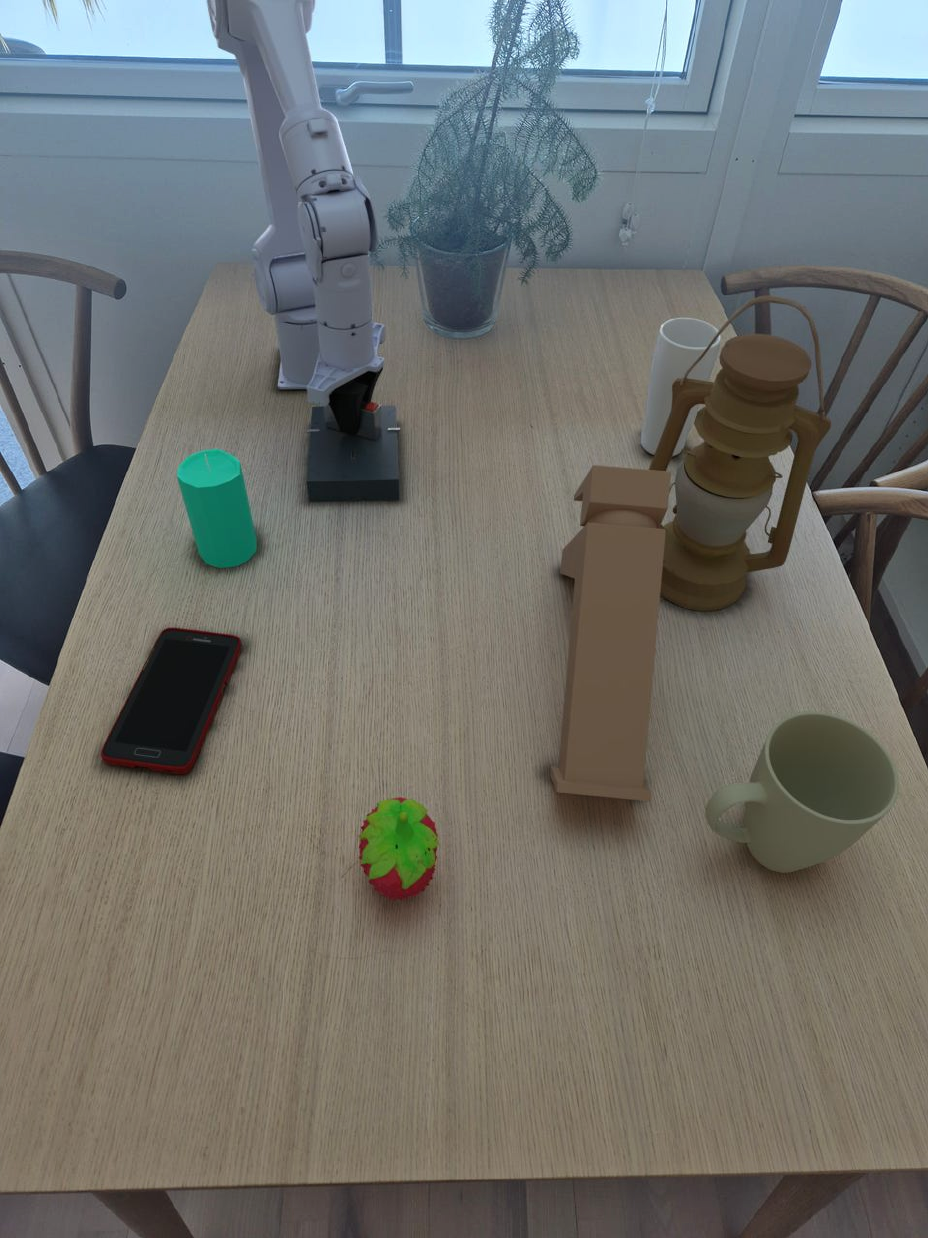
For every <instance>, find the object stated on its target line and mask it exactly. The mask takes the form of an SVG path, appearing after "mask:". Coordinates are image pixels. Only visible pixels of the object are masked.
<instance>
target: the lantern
mask: <svg viewBox="0 0 928 1238" xmlns="http://www.w3.org/2000/svg"><path fill="white" fill-rule="evenodd" d="M760 303H770V304H777V305H786V306H790V307H792V308H795V309H797V310H798V311H800V313H801V314H802V315H803V317H805V319H806V320H807V321H808V325H809V328H810V332H811V335H812V340H813V344H814V359H815V366H816V367H815V368H816V376H817V385H818V398H819V399H818V400H819V406H820V411H821V413H818V412H815V411H812V410H809V409H807V408H804V407H801V406H799V405H796V404H797V401H798V397H799V394H800V389H799V385H800V384H802V383H803V382H805V380H806V379H807V378H808V376H809V374H810V370H811V368H812V359H811V357H810V355H809V354H808V353H807V351H806V350H805V349H803V348H802V347H801V346H799V345H798V344H796V343H794V342H793V341H790V340H789V339H786V338H783V337H779V336H776V335H773V334H772V335H771V334H766V333H765V334H764V333H746V334H740V335H736V336H733V337H731V338H730V339H728V340H726V341H725V343H724V345H723V346H722V347H721V349H720V354H719V356H718V357H719V364H720V366H721V369H720V370H719V371H718V373H717V374H716V375H715V379H714V382H713V381H709V382H708V381H701V380H695V379H688V378H687V376H688V374H689V373H690V371H691V370H692V369H693V368H694V367H695V365H696V364H697V363H698V362H699V361H700V360H701V359H702V358H703V356H704V355H705V354H706V352H707V351H708V350H709V348H710V347H711V346H712V344H713V343H714V342H715V340H716V339H717V338H718V336H719V335H720V334H722V333H723V332H724V331H725V330H726V329H727V327H728V326H729V325H730V324H731V323H732V322H733V321H734V320H735V319H736V318H737V317H739V316H740V315H741V314H742V313H744V312H745V311H747V310H748V309H749V308H751V307H753V306H755V305H759V304H760ZM816 328H817V327H816V325H815V321H814V318H813V316H812V315H811V313H810V312H809V310H808V309H807V306H805V305H803V304H802V303H800V302H798V301H796V300H793V299H788V298H784V297H779V296H773V295H759V296H757V297H755V298H753V299H750V300H748V301H747V302H746V303H744V305H742V306H741V307H740V308H738V309H737V310H736V311H735V312H734V313H732V314H731V316H730V317H729V318H728V319H727V321H726V322H724V324H723V325H722V326H721V327H720V329H719V330H718V331H719V332H718V333H717V334H716V336H715V337H714V339H713V340H712V341H711V343H710V344H709V345H708V347H707V348H706V349H705V351H704V352H703V354H702V355H701V356H700V357H699V358H698V359H697V360H696V361H695V362H694V364H693V365H692V366H691V367H690V368H689V369H688V370H687V372H686V373H685V376H684V377H682V378H679V379H676V380H675V381H674V383H673V385H672V407H671V412H670V415H669V417H668V420H667V423H666V425H665V428H664V431H663V433H662V436H661V439H660V441H659V444H658V447H657V449H656V452H655V454H654V455H653V457H652V460H651V462H650V465H649V468H648V470H656V471H667V470H668V467H669V465H670V462H671V460H672V458H673V456H672V455H673V452H674V450H675V447H676V445H677V442H678V440H679V437H680V435H681V432H682V430H683V427H684V425H685V422H686V420H687V417H688V415H689V412H690V410H691V408H692V407H694V406H695V405H698V404H700V405H704V406H703V407H702V408H700V409H698V410H697V413H696V415H695V418H694V420H693V425H694V427H695V430H696V431H697V434H698V436H699V437H700V438H701V439H702V440H703V441H702V442H701V443H700V444H698V445H696V446H693V447H692V448H689V447H684V448H682V449H681V450H682V451H681V452H683V453H684V454H686V456H684V458H683V459H682V460H681V462H680V464H679V466H678V468H677V470H676V473H675V478H674V481H673V482H672V483H670V489H669V494H670V493H671V490H672V487H674V491H675V505H674V506H673V507H672V513H673V514H674V517H673V520H672V521H670V522H667V523H666V524H664V525H663V524H661V525H660V527H659V528H658V529H666V534H665V545H664V557H663V568H662V579H661V590H660V598H663V599H665V600H667V601H669V602H671V603H673V604H675V605H676V606H678V607H680V608H684V609H687V610H693V611H699V612H703V611H705V612H706V611H707V612H708V611H709V612H710V611H711V612H712V611H717V610H722V609H724V608H727V607H729V606H731V605H733V604H734V603H735V602H737V601H738V600H739V599H740V598H741V596H742V595H743V593H744V591H745V588H746V586H747V581H748V573H753V572H759V571H764V570H770V569H775V568H779V567H782V566H783V565H784V564H785V563H786V561H787V558H788V555H789V552H790V548H791V545H792V540H793V537H794V533H795V528H796V525H797V521H798V518H799V514H800V509H801V506H802V501H803V498H804V495H805V490H806V486H807V483H808V479H809V475H810V471H811V467H812V464H813V460H814V457H815V453H816V450H817V449H818V447H819V445H820V443H821V442H822V441H823V439H824V438H825V437H826V435H827V434H828V433H829V432H830V430H831V427H832V420H831V419H830V418H828V417H827V416H826V411H825V407H824V406H825V405H824V379H823V367H822V365H823V364H822V356H821V348H820V340H819V335H818V331H817V329H816ZM793 432H794V433H795V434H796V437H797V444H796V448H795V452H794V455H793V460H792V464H791V467H790V471H789V476H788V479H787V483H786V488H785V492H784V495H783V500H782V504H781V508H780V511H779V515H778V519H777V524H776V527H775V526H771V527H770V530H769V532H768V530H767V529H768V528H767V526H768V524H769V522H770V518H771V517H772V516H771V515H772V511H771V508H770V507H769V506H768V505H769V502H770V500H771V498H772V495H773V489H774V484H775V483H776V481H777V479H782V478H783V477H784V476H783V474H781V473H780V472H777V471H776V469H775V467H774V465H773V463H772V462H771V460H770V457H771V456H774V455H777V454H778V453H782V452H783V451H785V450H787V449H788V448H789V446H790V445H791V444H792V443H793ZM765 509H767V510H768V516H767V519H766V522H765V524H764V530H763V531H764V534H766V535H767V537H768V539H767V543H768V544H771V547H770V549H769V550H768V551H765V552H759V553H751V550H750V548H749V547H748V545H747V543H746V542H745V541H746V539H747V535H748V534H747V530H748V529H749V528H750V527H751V526H752V524H753V523H754V522H755V521H756V520H757V519H758V518H759V516H760V515H761V514H762V513H763V511H764V510H765Z"/></svg>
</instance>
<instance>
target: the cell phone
mask: <svg viewBox="0 0 928 1238" xmlns="http://www.w3.org/2000/svg"><path fill="white" fill-rule="evenodd" d="M242 646H243V644H242V640H241V638H240V637H239V636H237V635H233V634H229V633H220V632H213V631H206V630H205V631H204V630H198V629H191V628H190V629H189V628H182V627H166V628H164V629H163V630H162V631H161V632H160V634H159V635H158V637H157V639H156V640H155V642H154V645H153V646H152V648H151V650H150V652H149V654H148V656H147V658H146V660H145V662H144V664H143V666H142V668H141V670H140V672H139V674H138V676H137V678H136V679H135V682H134V684H133V686H132V687H131V690H130V692H129V693H128V696H127V698H126V700H125V701H124V704H123V705H122V708H121V710H120V711H119V714H118V715H117V718H116V720H115V721H114V723H113V726H112V728H111V729H110V732H109V733H108V736H107V738H106V739H105V742H104V744H103V747H102V749H101V752H100V753H101V754H100V757H101V758H102V761H103V762H104V763H106V764H108V765H112V766H118V767H122V766H125V767H126V768H131V769H132V768H133V769H136V768H137V767H144V768H148V769H149V771H155V772H161V773H168V774H176V775H181V774H183V775H184V774H187V773H188V772H190V771H191V770H192V768H193V767H194V764H195V763H196V761H197V758H198V756H199V753H200V750H201V748H202V746H203V744H204V741H205V738H206V736H207V733H208V731H209V729H210V726H211V724H212V721H213V719H214V717H215V714H216V712H217V709H218V706H219V704H220V702H221V699H222V696H223V695H224V693H223V692H224V690H225V688H226V686H227V684H228V682H229V680H230V677H231V675H232V673H233V671H234V668H235V665H236V662H237V660H238V658H239V656H240V653H241V649H242Z"/></svg>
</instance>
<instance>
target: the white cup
mask: <svg viewBox="0 0 928 1238" xmlns="http://www.w3.org/2000/svg"><path fill="white" fill-rule="evenodd" d="M718 332H719V330H718V329H717V328H716V327H715V326H714V325H712V324H710V323H708V322H707V321H704V320H701V319H697V318H692V317H676V318H672V319H669V320H666V321H665V322H664V323H662V324H661V326H660V328H659V332H658V335H657V338H656V341H655V346H654V350H653V354H652V360H651V365H650V372H649V379H648V387H647V394H646V395H647V396H646V404H645V410H644V415H643V416H644V417H643V424H642V429H641V434H640V445H641V447H642V448H643V450H644V451H646V452H647V453H648V454H650V455H653V456H654V454H655V452H656V449H657V447H658V444H659V441H660V439H661V436H662V433H663V431H664V428H665V425H666V423H667V420H668V417H669V415H670V412H671V407H672V385H673V383H674V381H675V380H676V379H679V378H682V377H684V376H685V373H686V372H687V370H688V369H689V368H690V367H691V366H692V365H693V364H694V362H695V361H696V360H697V359H698V358H699V357H700V356H701V355H702V354H703V352H704V351H705V349H706V348H707V347H708V345H709V344H710V343H711V341H712V340H713V339H714V337H715V336H716V334H717V333H718ZM721 334H722V333H721ZM721 334H720V335H719V336H718V338H717V339H716V340H715V342H714V343H713V344H712V346H711V347H710V348H709V350H708V351H707V352H706V354H705V355H704V356H703V358H702V359H701V360H700V361H699V362H698V363H697V364H696V365H695V367H694V368H693V369H692V370H691V371H690V373H689V374H688V376H687V378H688V379H695V380H701V381H708V382H710V381H711V377H712V374H713V371H714V368H715V365H716V362H717V358H718V355H719V352H720V347H721V341H722V335H721ZM700 405H701V404H698V405H695V406H694V407H692V408H691V410H690V412H689V415H688V417H687V420H686V422H685V425H684V427H683V430H682V432H681V435H680V437H679V440H678V442H677V445H676V447H675V450H674V452H673V455H672V457H675V456H677V455H678V456H679V454H680V453H682V452H683V451H682V450H681V449H682V448H685V446H686V443H687V439H688V436H689V433H690V431H691V428H692V426H693V424H694V421H695V418H696V415H697V412H698V411H699V407H700Z"/></svg>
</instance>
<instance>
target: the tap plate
mask: <svg viewBox="0 0 928 1238" xmlns="http://www.w3.org/2000/svg"><path fill="white" fill-rule="evenodd" d="M380 408H381V428H382V434H381V435H380V436H379V437H378V439H377V440H376V441H375V440H371V439H368V438H364V437H361V436H357V435H353V434H349V433H345V432H342V431H339V430H335V429H332V428H328V427H326V425H325V416H324V407H323V406H319V405H318V406H312V407H311V415H310V428H307V429H306V433H309V439H308V440H309V442H308V451H307V452H308V454H307V467H306V477H305V483H306V489H307V497H308V502H309V503H327V502H328V503H329V502H330V503H331V502H332V503H337V502H338V503H339V502H372V501H373V502H377V501H378V502H379V501H400V475H399V474H400V473H399V447H398V432H400V431H401V427H398V423H397V422H398V421H397V405H396V404H395V405H394V404H391V405H389V404H388V405H380Z"/></svg>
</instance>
